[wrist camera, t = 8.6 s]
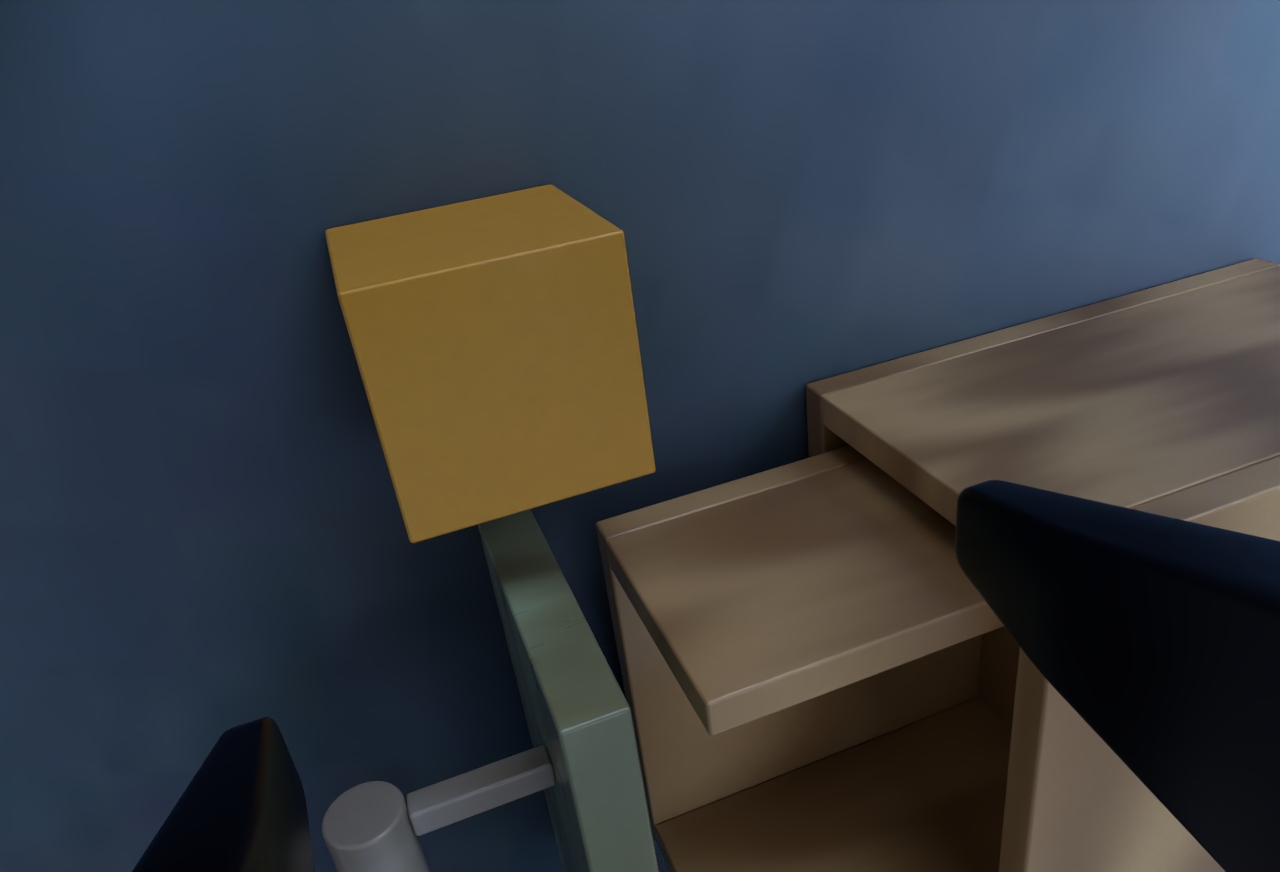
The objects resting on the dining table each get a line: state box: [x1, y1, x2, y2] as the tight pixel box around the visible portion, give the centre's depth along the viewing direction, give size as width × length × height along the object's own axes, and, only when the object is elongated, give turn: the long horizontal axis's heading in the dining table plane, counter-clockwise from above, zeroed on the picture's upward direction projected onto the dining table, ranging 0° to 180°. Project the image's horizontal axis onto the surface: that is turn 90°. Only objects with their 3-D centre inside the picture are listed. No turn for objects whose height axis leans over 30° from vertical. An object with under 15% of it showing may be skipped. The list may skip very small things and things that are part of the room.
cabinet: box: [806, 258, 1280, 872], centre depth 23 cm, size 15×13×9 cm
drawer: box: [322, 445, 1019, 872], centre depth 21 cm, size 18×11×7 cm, turn 98°
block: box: [325, 184, 656, 543], centre depth 17 cm, size 4×4×4 cm
